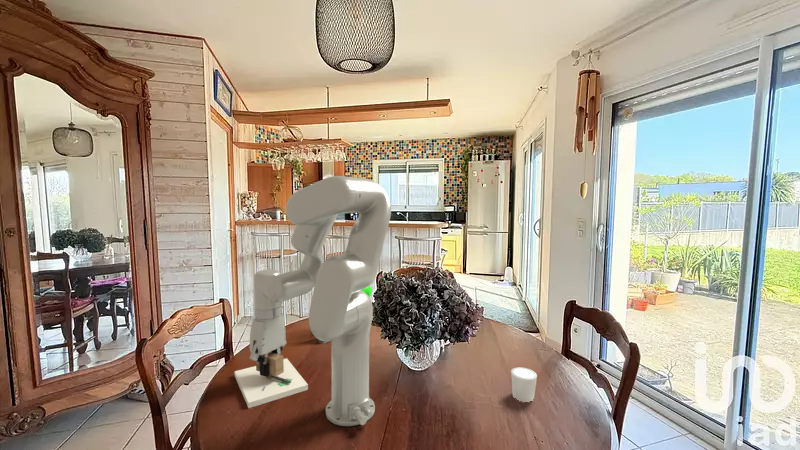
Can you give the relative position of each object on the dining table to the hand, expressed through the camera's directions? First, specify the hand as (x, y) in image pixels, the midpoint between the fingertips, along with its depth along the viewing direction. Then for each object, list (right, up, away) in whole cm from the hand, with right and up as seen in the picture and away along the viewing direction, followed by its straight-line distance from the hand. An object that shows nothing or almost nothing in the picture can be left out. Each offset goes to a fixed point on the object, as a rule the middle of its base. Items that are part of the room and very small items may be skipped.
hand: (269, 372), depth 103 cm
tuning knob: (+2, -2, -1) cm, 3 cm away
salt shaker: (+10, -1, +31) cm, 33 cm away
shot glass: (+73, -5, -6) cm, 74 cm away
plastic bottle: (+22, -1, +42) cm, 47 cm away
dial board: (0, -3, 0) cm, 3 cm away
